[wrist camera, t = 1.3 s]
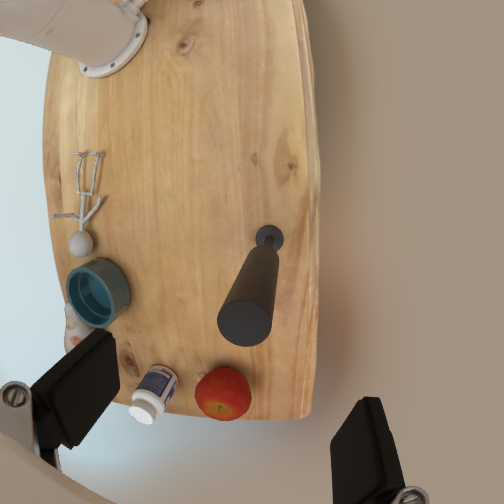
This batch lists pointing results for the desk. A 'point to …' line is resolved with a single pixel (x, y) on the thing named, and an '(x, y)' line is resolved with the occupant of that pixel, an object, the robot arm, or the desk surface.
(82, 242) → the figurine
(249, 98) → the desk surface
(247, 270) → the cylinder on disc stand
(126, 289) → the bowl
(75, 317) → the mug
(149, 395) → the pill bottle
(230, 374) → the apple
